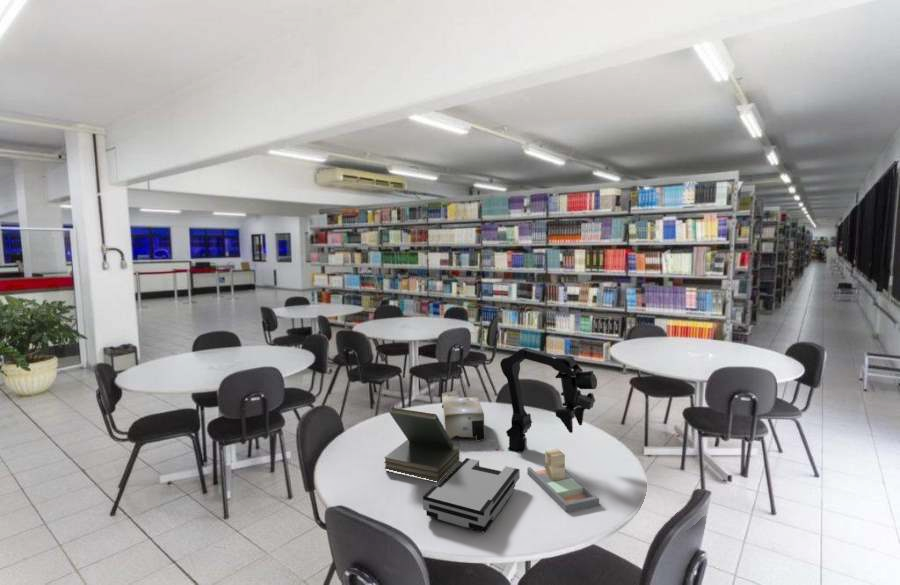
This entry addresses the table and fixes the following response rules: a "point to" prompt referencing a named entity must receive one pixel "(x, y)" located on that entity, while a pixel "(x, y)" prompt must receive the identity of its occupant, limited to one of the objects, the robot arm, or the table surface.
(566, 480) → the box
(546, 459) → the block
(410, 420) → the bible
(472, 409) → the projector
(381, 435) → the table surface
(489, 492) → the game console
